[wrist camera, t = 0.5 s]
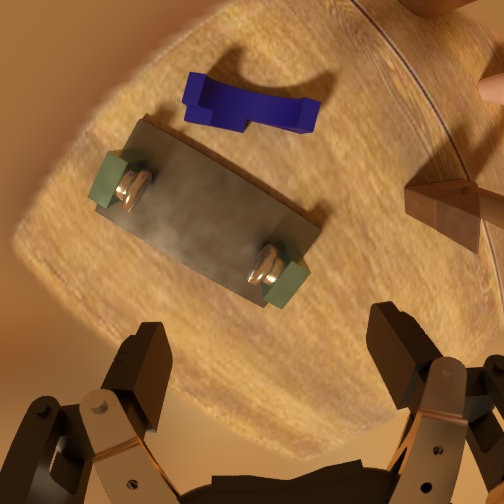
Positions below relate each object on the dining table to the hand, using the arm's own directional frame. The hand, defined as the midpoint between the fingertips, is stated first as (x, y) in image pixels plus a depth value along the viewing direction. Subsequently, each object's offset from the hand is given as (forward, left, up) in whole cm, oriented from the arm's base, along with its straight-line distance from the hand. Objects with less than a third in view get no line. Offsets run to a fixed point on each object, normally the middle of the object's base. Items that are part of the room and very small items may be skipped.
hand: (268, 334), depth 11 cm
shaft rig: (+4, -3, -23) cm, 24 cm away
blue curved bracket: (-8, -6, -24) cm, 26 cm away
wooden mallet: (-15, +20, -24) cm, 34 cm away
